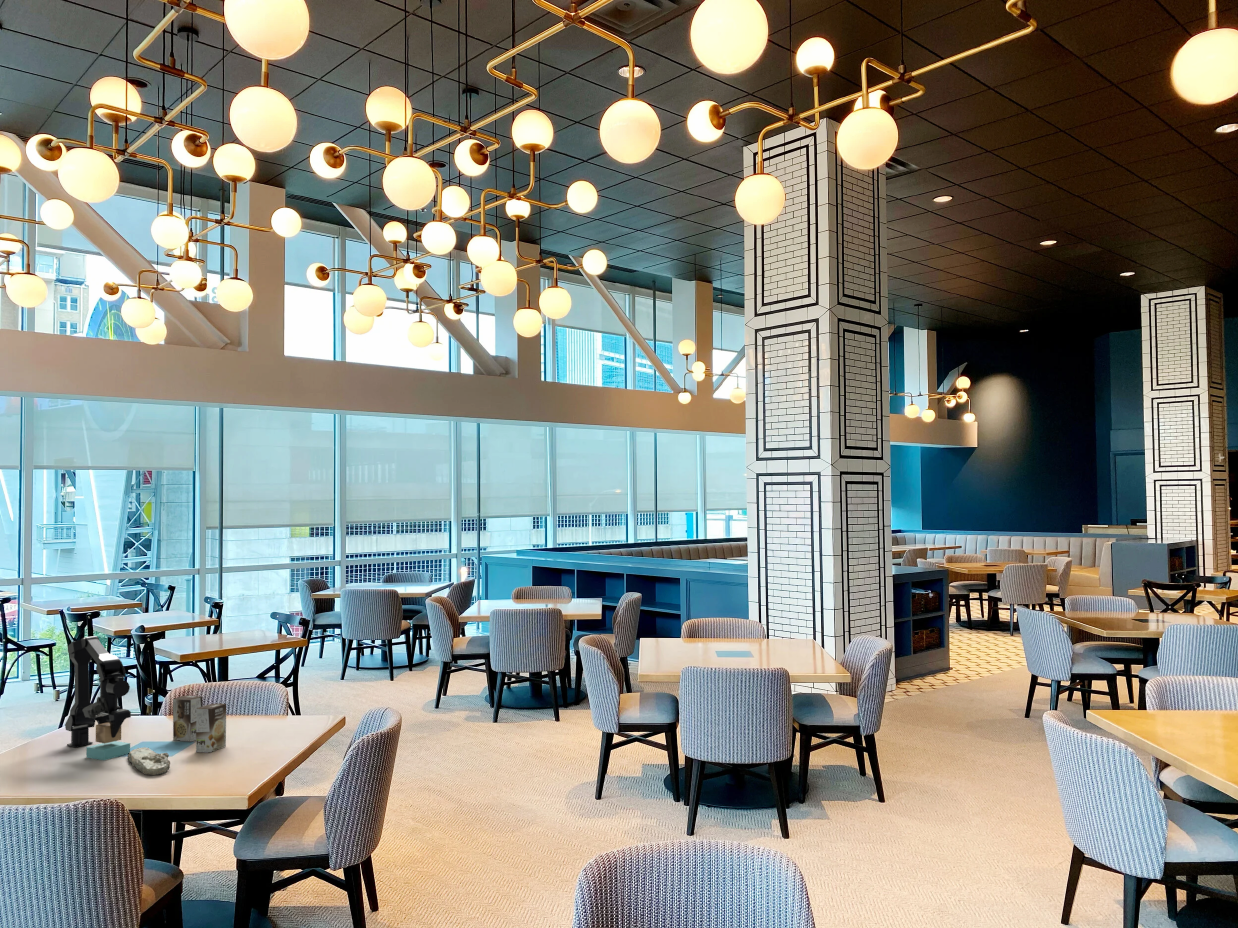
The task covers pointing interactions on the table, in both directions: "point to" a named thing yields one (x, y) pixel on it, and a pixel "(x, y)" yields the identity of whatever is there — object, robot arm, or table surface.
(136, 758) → the long grey stone
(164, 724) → the table surface
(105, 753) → the teal plinth
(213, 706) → the coffee box
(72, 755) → the table surface
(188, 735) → the coffee box
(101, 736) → the walnut block
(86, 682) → the robot arm
